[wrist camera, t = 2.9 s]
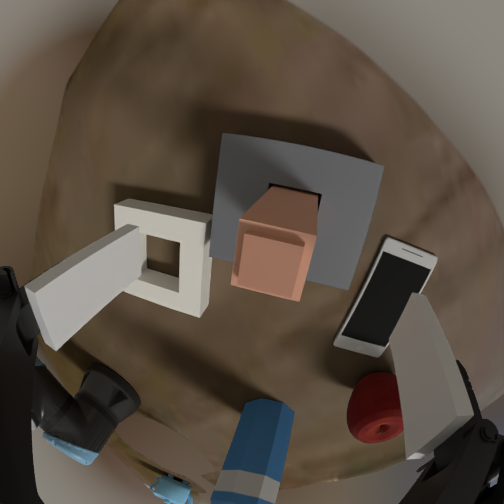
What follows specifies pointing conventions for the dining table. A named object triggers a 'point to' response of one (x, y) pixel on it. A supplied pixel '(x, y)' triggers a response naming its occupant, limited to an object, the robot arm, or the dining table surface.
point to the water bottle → (256, 455)
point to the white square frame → (191, 254)
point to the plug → (276, 242)
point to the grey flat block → (301, 177)
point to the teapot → (172, 490)
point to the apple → (375, 408)
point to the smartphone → (385, 297)
